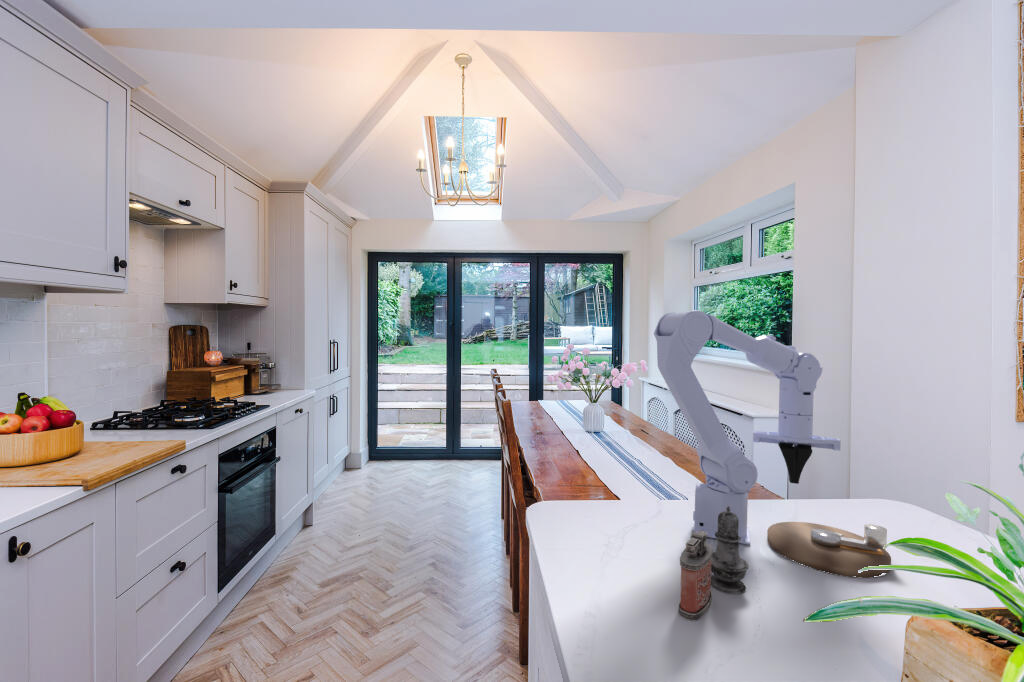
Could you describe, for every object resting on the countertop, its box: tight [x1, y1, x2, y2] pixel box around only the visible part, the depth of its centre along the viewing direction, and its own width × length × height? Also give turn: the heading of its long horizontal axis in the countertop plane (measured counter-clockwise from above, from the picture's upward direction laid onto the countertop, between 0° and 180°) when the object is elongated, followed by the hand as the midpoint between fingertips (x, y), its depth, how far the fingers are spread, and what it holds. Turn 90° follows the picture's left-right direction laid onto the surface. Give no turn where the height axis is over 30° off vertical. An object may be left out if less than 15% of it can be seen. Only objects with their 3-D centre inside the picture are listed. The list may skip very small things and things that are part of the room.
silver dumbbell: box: [811, 523, 888, 551], centre depth 79 cm, size 11×4×4 cm, turn 61°
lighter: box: [678, 531, 714, 621], centre depth 64 cm, size 8×3×10 cm, turn 141°
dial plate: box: [766, 521, 892, 579], centre depth 81 cm, size 18×18×2 cm
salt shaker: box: [711, 506, 750, 595], centre depth 69 cm, size 6×6×12 cm
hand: (793, 482), depth 90 cm, fingers closed
